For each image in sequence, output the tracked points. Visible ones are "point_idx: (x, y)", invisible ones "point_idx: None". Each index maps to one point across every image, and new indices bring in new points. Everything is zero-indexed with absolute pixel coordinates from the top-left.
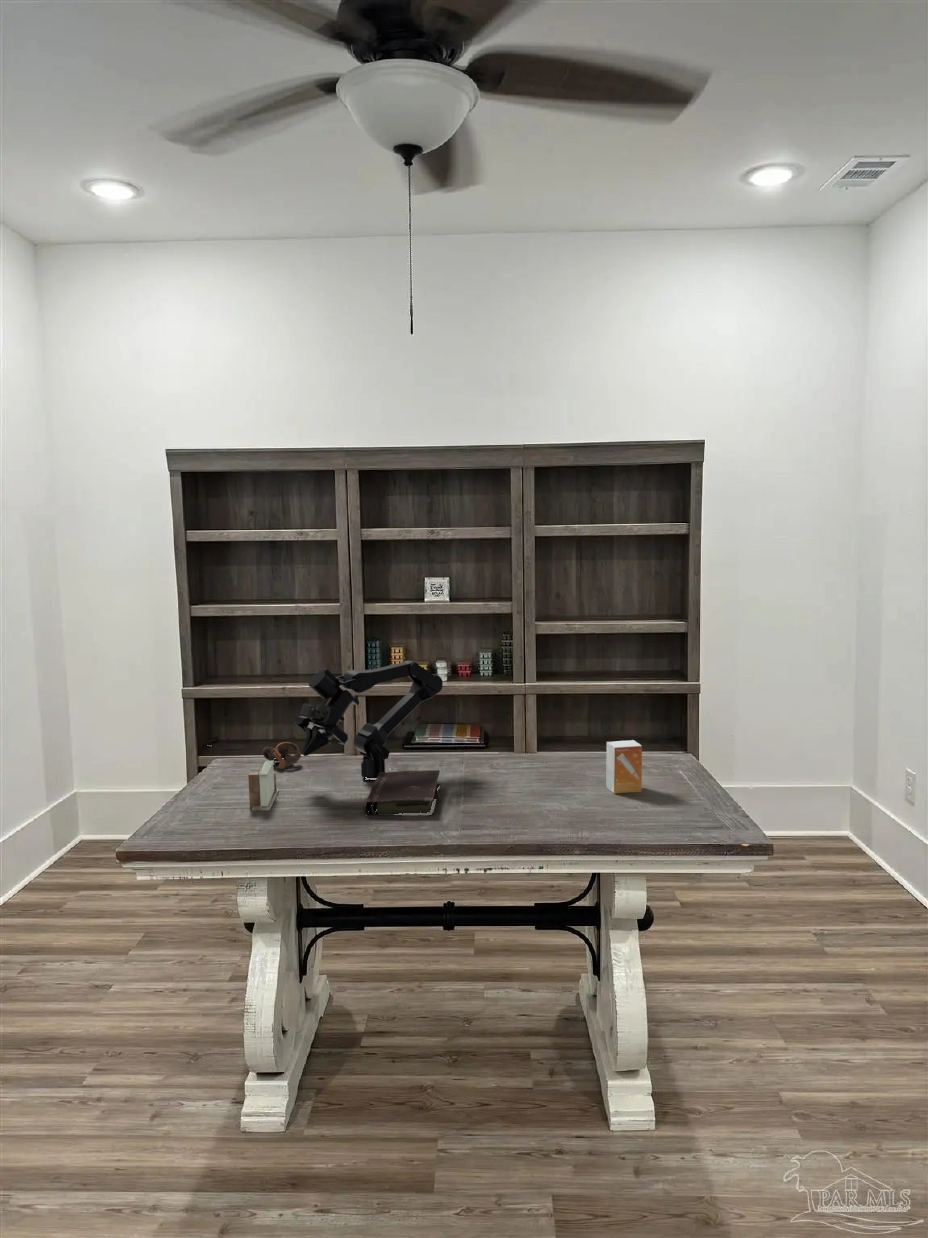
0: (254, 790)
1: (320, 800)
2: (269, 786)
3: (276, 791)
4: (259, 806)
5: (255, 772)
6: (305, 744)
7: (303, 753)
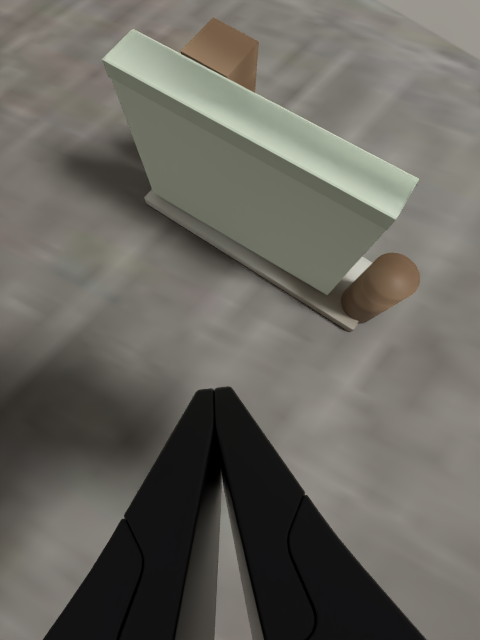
0: None
1: (104, 419)
2: (203, 185)
3: (325, 306)
4: None
5: (231, 58)
6: (260, 468)
7: (203, 391)
